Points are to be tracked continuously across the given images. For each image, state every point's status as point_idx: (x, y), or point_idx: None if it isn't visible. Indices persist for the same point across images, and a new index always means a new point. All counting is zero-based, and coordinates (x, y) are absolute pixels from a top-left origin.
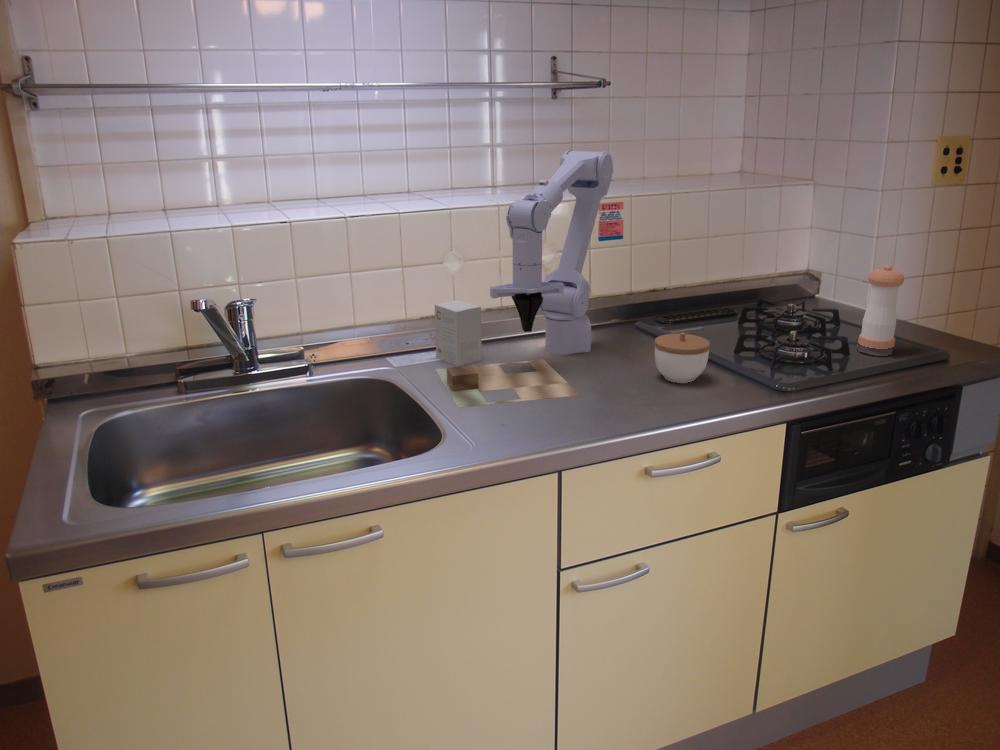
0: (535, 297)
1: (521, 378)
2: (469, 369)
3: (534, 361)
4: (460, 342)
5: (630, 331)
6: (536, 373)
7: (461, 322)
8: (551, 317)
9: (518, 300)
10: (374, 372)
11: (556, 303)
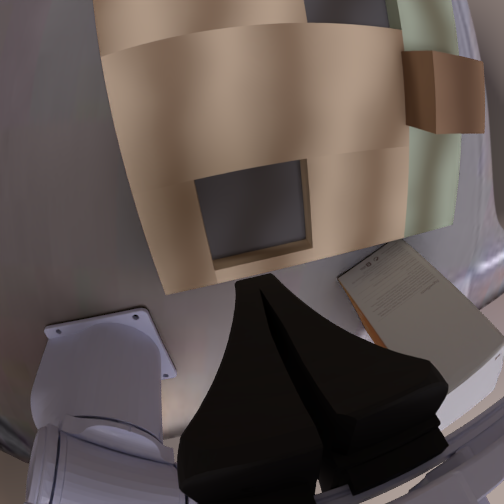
0: (267, 480)
1: (262, 108)
2: (447, 96)
3: (195, 278)
4: (440, 283)
5: (26, 433)
6: (199, 157)
7: (473, 325)
8: (140, 434)
9: (446, 389)
10: (498, 246)
11: (123, 479)
